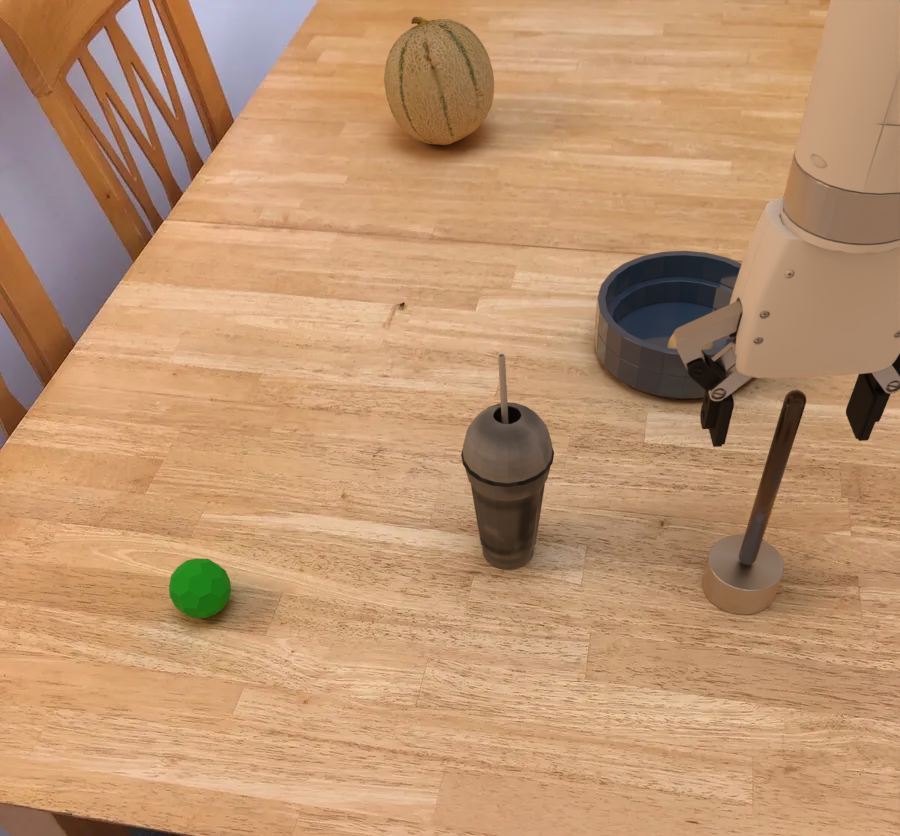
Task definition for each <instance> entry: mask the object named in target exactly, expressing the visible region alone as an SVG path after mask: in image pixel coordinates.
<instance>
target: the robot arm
mask: <svg viewBox="0 0 900 836" xmlns="http://www.w3.org/2000/svg"><path fill="white" fill-rule="evenodd" d="M741 264H742V265H741V268H740V271H739V274H738V277H737V280H736V283H735V286H734V290H733V293H732V297H731V300H730V304H729V305H727V306H725V307H723V308H721V309H718V310H716V311H714V312H712V313H709V314H707V315H705V316H703V317H701V318H698V319H696V320H694V321H692V322H689V323H687V324H685V325H683V326H681V327H678V328H677V329H675V331H674V333H673V336H674V341H675V345H676V348H677V351H678V353H679V355H680V357H681V359H682V361H683V363H684V364H685V367H686V369H687V371H688V374H689V376H690V377H691V378H692V379H693V380H694V381H696V382H697V383H698V384H699V385H700V386H701V387H702V388H703V389H705V393H704V398H702V403H701V408H700V415H699V419H700V420H699V421H700V425H701V429H702V430H708V432H709V436H710V441H711V443H712V444H711V445H712V447H713V448H720V447H721V448H722V447H723V445H725V444H726V440H727V436H728V432H729V428H730V424H731V420H732V416H733V411H734V407H735V401H734V397H733V393H734V392H736V391H737V390H739V388H741V387H742V386H744V385H745V384H744V383H745V382H746V381H748V380H749V379H750V378H751V377H753V378H756V379H757V378H758V379H777V378H778V379H780V378H781V379H784V378H806V377H807V378H808V377H830V376H831V377H832V376H849V375H857V377H856V381H855V384H854V387H853V389H852V392H851V395H850V397H849V400H848V403H847V405H846V408H845V415H846V416H845V417H846V419H847V421H848V422H849V426H850V428H851V431H852V433H853V436H854V438H855V439H856V440H858V441H859V442H862V441H863V442H865V441H869V440H870V437H871V435H872V432H873V429H874V427H875V425H876V423H879V422H880V421H881V419H882V417H883V415H884V413H885V410H886V407H887V404H888V402H889V399H890V397H891V395H893V394H896V393H898V392H899V391H900V0H830V2H829V5H828V8H827V13H826V17H825V21H824V26H823V30H822V34H821V37H820V43H819V45H818V51H817V55H816V58H815V64H814V68H813V71H812V75H811V80H810V84H809V88H808V93H807V97H806V101H805V106H804V110H803V114H802V117H801V122H800V125H799V131H798V134H797V139H796V144H795V148H794V151H793V156H792V160H791V164H790V168H789V172H788V177H787V180H786V184H785V190H784V193H783V196H782V197H775V198H772V199H770V200H769V201H768V202H767V204H766V206H765V207H764V208H763V211H762V213H761V216H760V218H759V219H758V222H757V224H756V226H755V228H754V231H753V234H752V235H751V237H750V240H749V243H748V246H747V249H746V251H745V253H744V256H743V259H742V262H741ZM725 336H726V340H729V339H733V340H732V341H731V342H730V343H729V344H728V345H727V346H725V347H724V348H723V349H722V350H721V351H719V352H718V353H717V354H716V355H715V356H714V357H712V358H710V357H709V356H708V355H707V354H706V353H705V352H703V351H702V350H701V349H702V348H703V347H704V346H705V345H707V344H709V343H711V342H714V341H716V340H718V339H721V338H723V337H725ZM735 363H736V365H735V366H734V367H732V366H733V365H734V364H735ZM730 367H732V368H731V369H730V370H729V371H728V372H725V371H727V370H728V369H729V368H730ZM749 381H750V380H749ZM749 381H748V382H749ZM743 384H744V385H743ZM741 385H742V386H741Z"/></svg>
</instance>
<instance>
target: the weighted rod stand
mask: <svg viewBox="0 0 900 836" xmlns="http://www.w3.org/2000/svg"><path fill="white" fill-rule="evenodd" d="M806 404H807V395H806V393H805V392H804V391H802V390H800V389H793V390H790V391H789V392H787V394H785V397H784V400H783V403H782V406H781V409H780V413H779V416H778V420H777V423H776V427H775V431H774V433H773V437H772V440H771V442H770V443H771V444H770V447H769V450H768V454H767V457H766V460H765V464H764V467H763V470H762V474H761V478H760V480H759V485H758V488H757V491H756V495H755V499H754V500H753V501H754V502H753V505H752V509H751V512H750V515H749V518H748V522H747V524H746V529H745V533H744V534H733V535H729V536H724V537H723V538H721V539H719V540H718V541H716V542H715V543H714V544H713V545H712V546H711V547H710V550H709V551H708V555H707V558H706V562H705V567H704V570H703V575H702V578H701V585H702V590H703V592H704V594H705V595H704V596H706V598H707V600H709V601H710V603H712V604H713V605H714V606H715V607H717V608H719V609H720V610H722V611H724V612H727V613H730V614H735V615H745V616H747V615H753V614H757V613H760V612H763V611H764V610H765V609H767V608H769V607H770V606H771V605H772V603H773V601H774V600H775V598H776V594H777V592H778V589H779V588H780V587H779V586H780V584H781V581H782V578H783V575H784V572H785V563H784V559H783V557H782V555H781V553H780V552H779V550H778V549H777V548H775V546H773V544H771V543H769V542H768V541H767V540H765V539H764V537H765V533H766V530H767V527H768V523H769V521H770V518H771V515H772V512H773V509H774V505H775V502H776V498H777V496H778V493H779V489H780V486H781V483H782V480H783V477H784V474H785V470H786V468H787V465H788V461H789V458H790V456H791V455H790V454H791V452H792V449H793V445H794V442H795V439H796V436H797V433H798V429H799V426H800V423H801V421H802V418H803V414H804V412H805V407H806Z"/></svg>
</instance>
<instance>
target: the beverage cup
mask: <svg viewBox="0 0 900 836" xmlns="http://www.w3.org/2000/svg"><path fill="white" fill-rule="evenodd" d="M497 358H498V359H497V360H498V376H499V378H498V379H499V396H500V398H499V399H500V403H496V404H493V405H490V406H488V407H485V409H483V410H482V411H480V412H479V413H478V414H477V415H476V416H475V417H474V419H473V420H472V421H471V422H470V424H469V425H468V427H467V430H466V433H465V435H464V436H465V437H464V440H463V444H462V450H461V453H460V457H461V462H462V466H463V467H464V469H465V473H466V476H467V479H468V482H469V483H470V488H471V493H472V500H473V506H474V511H475V517H476V524H477V529H478V536H479V541H480V546H481V547H482V555H483V558H484V559H485V560H486V562H487V563H488V564H490V565H491V566H492V567H494V568H497V569H500V570H507V571H508V570H509V571H510V570H517V569H519V568H521V567H524V566H526V565H527V564H528V563H529V562H530V561H531V559H532V558H533V557H534V553H535V552H534V551H535V547H536V543H537V538H538V531H539V526H540V525H539V524H540V519H541V513H542V505H543V499H544V493H545V486H546V483H547V480H548V478H549V475H550V470H551V467H552V465H553V464H554V457H555V451H554V447H553V442H552V439H551V435H550V432H549V428H548V427H547V424H546V423H545V422H544V421H543V419H542V418H541V417H540V415H539V414H538V413H537V412H536V411H534V410H533V409H531V408H529V407H528V406H526V405H523V404H520V403H517V402H508V388H507V387H508V385H507V371H506V370H507V369H506V368H507V367H506V354H505V353H499V354H498V355H497Z"/></svg>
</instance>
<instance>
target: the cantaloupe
mask: <svg viewBox="0 0 900 836" xmlns="http://www.w3.org/2000/svg"><path fill="white" fill-rule="evenodd" d="M410 22H411V25H412V24H413V25H414V24H416V25H415V26H412V27H410V29H408V30H406V31H405V32H404V33H402V34H401V35H400V36H399V37H398V38H397V39H396V41H395V42H394V43H393V44H392V47H391V48H390V50H389V52H388V55H387V58H386V61H385V66H384V73H383V74H384V75H383V76H384V77H383V83H384V89H385V90H384V91H385V96H386V100H387V103H388V107H389V109H390V112H391V113H392V116H393V118H394V119H395V121H396V123H397V124H398V125H399V126H400V128H401V129H402V130H403V131H404V132H405V133H407V134H408V135H409V136H410V137H411V138H413V139H415V140H417V141H419V142H422V143H424V144H430V145H440V146H448V145H451V144H453V143H456V142H458V141H460V140H462V139H464V138H466V137H467V136H469V135H471V134H472V133H474V132H475V131H476V130H478V129H479V128H480V127H481V126H482V124H483V123H484V121H485V120H486V118H487V117H488V115H489V113H490V111H491V108H492V105H493V101H494V96H495V76H494V69H493V66H492V62H491V59H490V56H489V54H488V51H487V49H486V47H485V46H484V43H483V42H482V41H481V39H480V38H479V37H478V36H477V34H476V33H475V32H474V31H473V30H471V28H470V27H468V26H467V25H465V24H463V23H461V22H459V21H457V20H453V19H448V18H444V19H443V18H439V19H431V20H427V19H424V18H423V17H422V16H413V17H412V18H411V21H410Z"/></svg>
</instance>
